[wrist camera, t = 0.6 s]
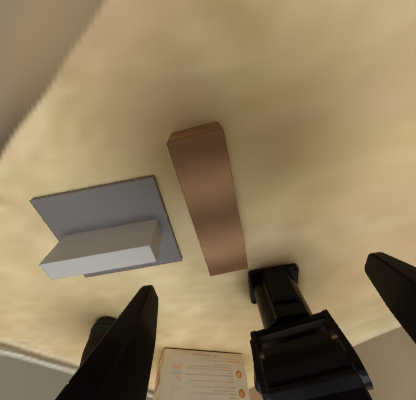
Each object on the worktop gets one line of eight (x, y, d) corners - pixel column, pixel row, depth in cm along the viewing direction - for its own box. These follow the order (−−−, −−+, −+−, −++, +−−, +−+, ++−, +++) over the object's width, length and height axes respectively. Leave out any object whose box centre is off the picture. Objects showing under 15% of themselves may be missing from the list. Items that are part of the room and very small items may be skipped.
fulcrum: (181, 257, 24) (179, 290, 20) (87, 274, 24) (66, 309, 20) (154, 175, 18) (143, 198, 15) (33, 198, 19) (-10, 226, 15)
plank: (240, 241, 24) (248, 268, 20) (208, 248, 24) (210, 275, 20) (217, 121, 17) (223, 129, 13) (172, 132, 17) (166, 143, 13)
